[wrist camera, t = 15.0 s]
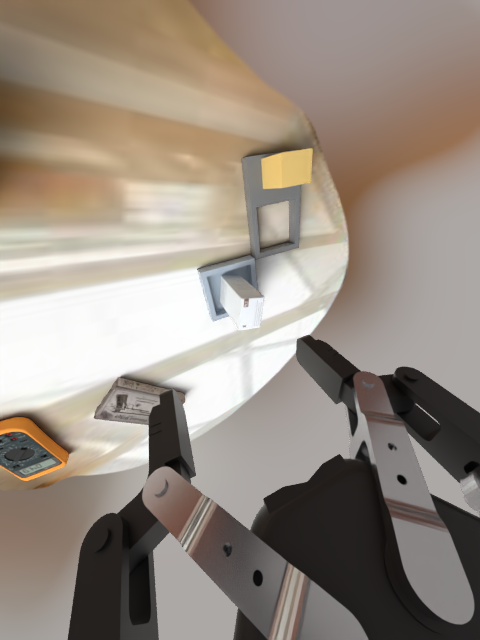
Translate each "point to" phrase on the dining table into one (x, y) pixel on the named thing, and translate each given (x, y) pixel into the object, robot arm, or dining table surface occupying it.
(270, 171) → the block
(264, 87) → the dining table surface
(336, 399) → the robot arm
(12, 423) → the multimeter
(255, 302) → the skincare box
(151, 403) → the box
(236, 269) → the tray
